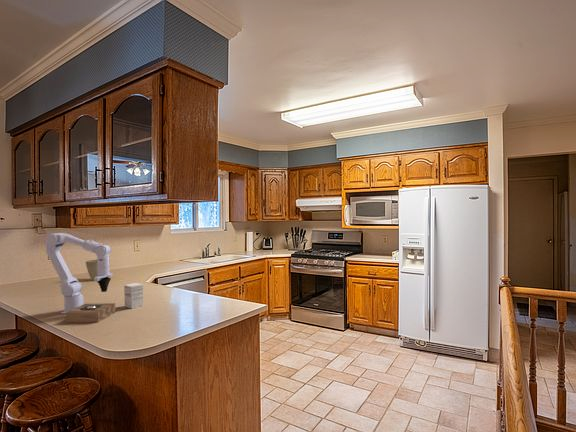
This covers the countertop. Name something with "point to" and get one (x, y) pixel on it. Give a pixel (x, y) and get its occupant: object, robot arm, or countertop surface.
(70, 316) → the walnut block
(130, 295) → the supplement box
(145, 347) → the countertop surface
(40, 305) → the countertop surface
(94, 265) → the plant pot
